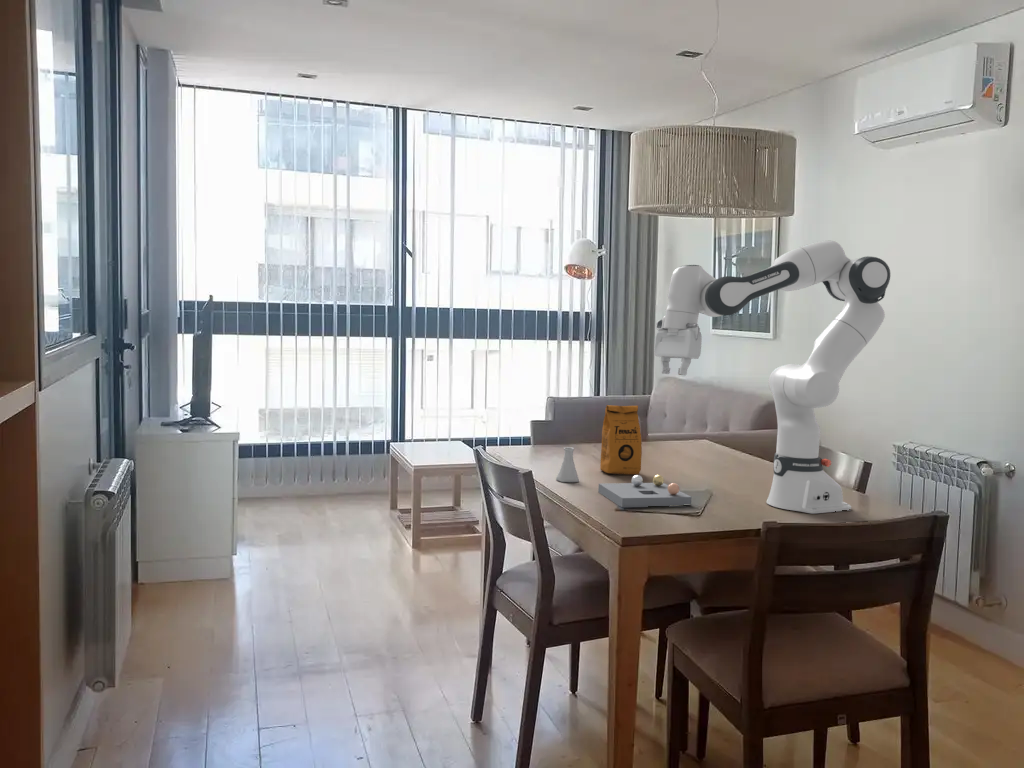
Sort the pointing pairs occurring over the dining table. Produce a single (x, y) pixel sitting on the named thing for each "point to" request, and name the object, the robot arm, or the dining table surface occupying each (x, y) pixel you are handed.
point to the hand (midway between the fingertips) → (673, 374)
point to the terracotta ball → (673, 488)
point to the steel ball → (637, 480)
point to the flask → (568, 467)
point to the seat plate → (642, 495)
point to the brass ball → (658, 480)
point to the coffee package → (621, 441)
